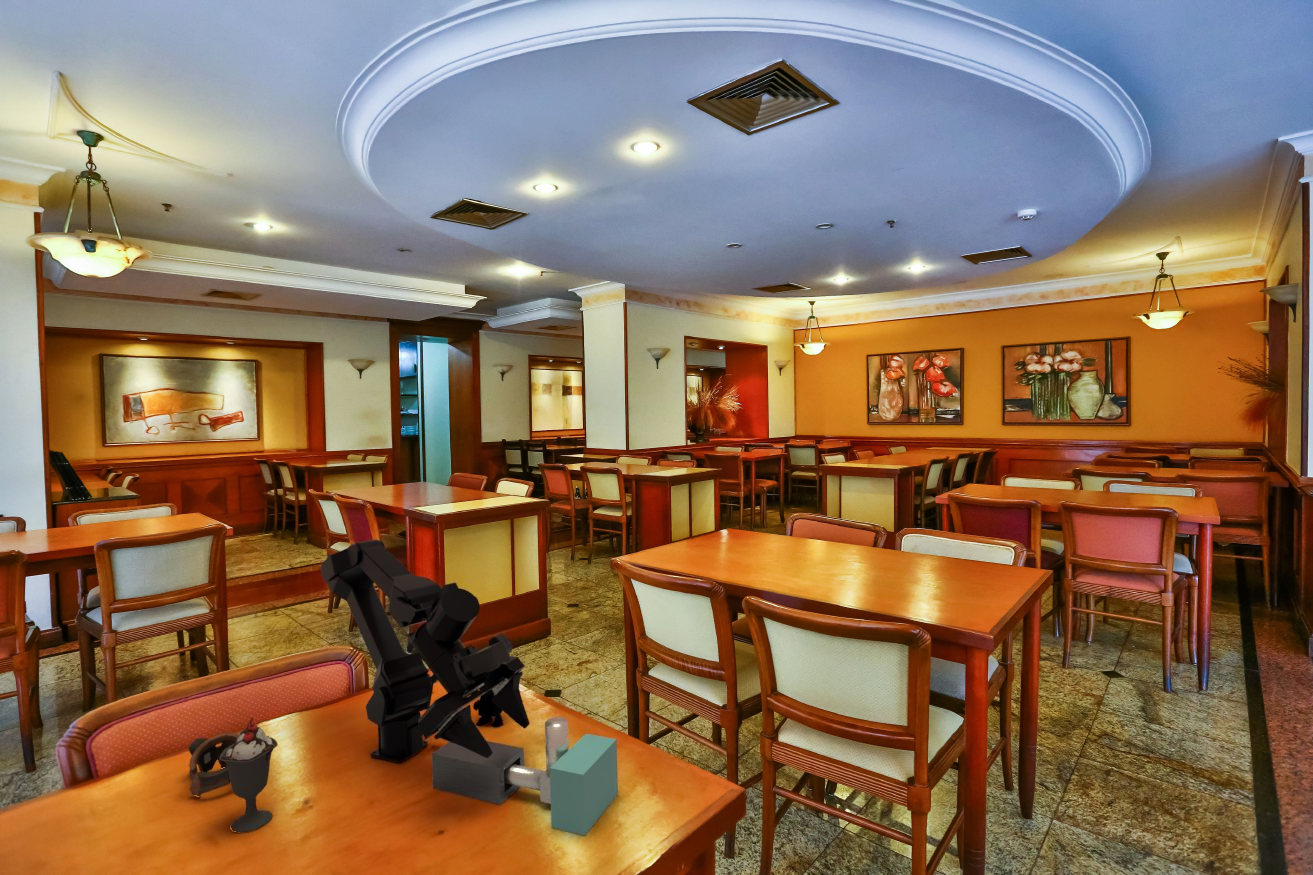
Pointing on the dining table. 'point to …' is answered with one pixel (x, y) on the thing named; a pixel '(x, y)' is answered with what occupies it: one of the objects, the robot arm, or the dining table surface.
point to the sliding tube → (554, 751)
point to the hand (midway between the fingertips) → (509, 740)
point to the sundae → (249, 774)
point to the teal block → (583, 784)
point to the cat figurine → (488, 711)
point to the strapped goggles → (209, 763)
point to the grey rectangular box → (475, 771)
